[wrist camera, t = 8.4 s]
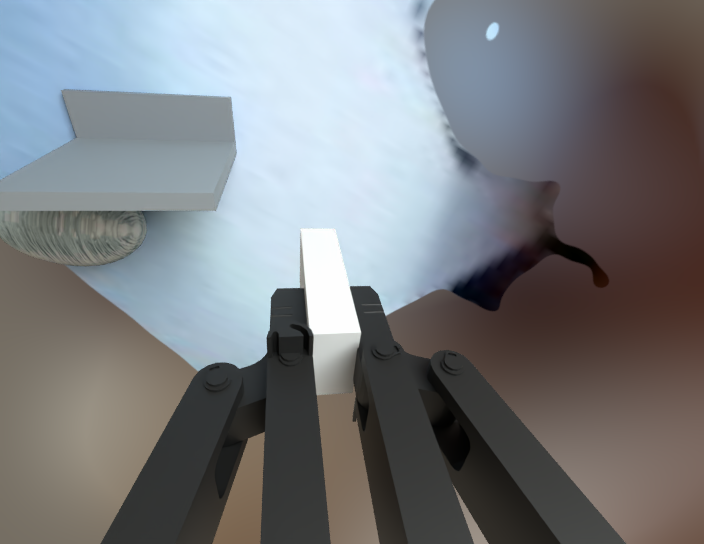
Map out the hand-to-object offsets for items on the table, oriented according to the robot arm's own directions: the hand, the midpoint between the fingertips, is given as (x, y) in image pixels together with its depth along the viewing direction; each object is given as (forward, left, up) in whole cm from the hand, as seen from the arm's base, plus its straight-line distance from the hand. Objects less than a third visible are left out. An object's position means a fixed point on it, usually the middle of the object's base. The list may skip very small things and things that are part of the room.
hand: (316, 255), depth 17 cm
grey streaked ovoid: (+11, -24, -31) cm, 41 cm away
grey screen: (+1, -15, -31) cm, 34 cm away
